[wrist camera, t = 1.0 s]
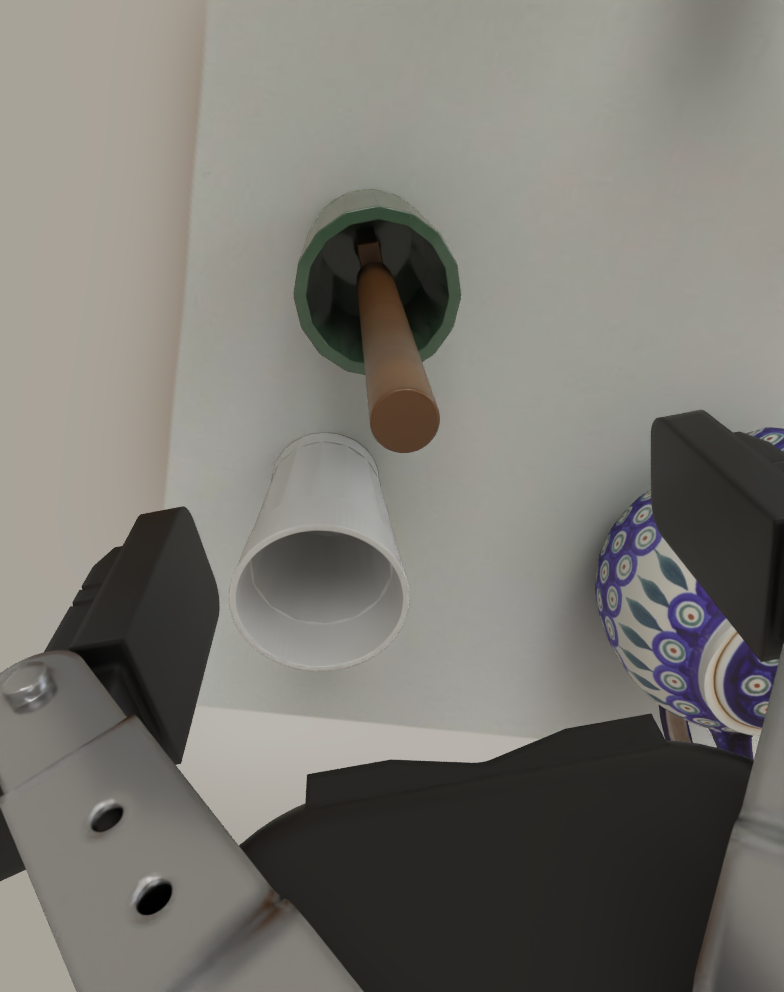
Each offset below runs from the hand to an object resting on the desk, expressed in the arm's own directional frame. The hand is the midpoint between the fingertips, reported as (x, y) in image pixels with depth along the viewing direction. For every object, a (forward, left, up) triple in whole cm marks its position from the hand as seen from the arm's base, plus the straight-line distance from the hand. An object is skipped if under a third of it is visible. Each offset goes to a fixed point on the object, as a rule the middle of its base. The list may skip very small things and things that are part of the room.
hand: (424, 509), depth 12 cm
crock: (0, 0, -27) cm, 27 cm away
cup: (+12, -5, -27) cm, 30 cm away
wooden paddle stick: (0, 0, -26) cm, 26 cm away
